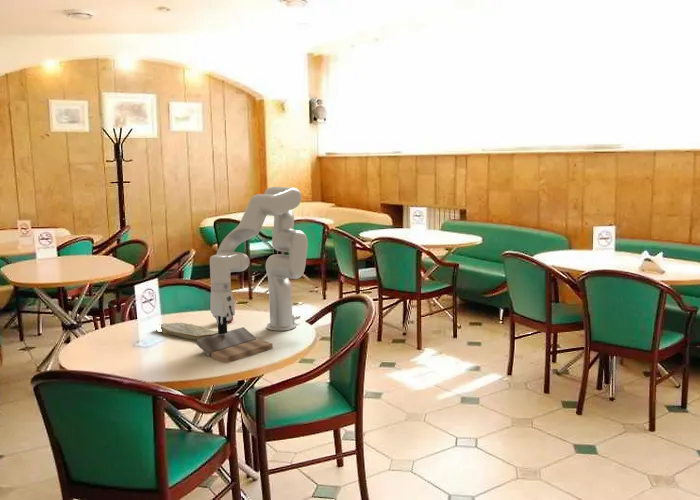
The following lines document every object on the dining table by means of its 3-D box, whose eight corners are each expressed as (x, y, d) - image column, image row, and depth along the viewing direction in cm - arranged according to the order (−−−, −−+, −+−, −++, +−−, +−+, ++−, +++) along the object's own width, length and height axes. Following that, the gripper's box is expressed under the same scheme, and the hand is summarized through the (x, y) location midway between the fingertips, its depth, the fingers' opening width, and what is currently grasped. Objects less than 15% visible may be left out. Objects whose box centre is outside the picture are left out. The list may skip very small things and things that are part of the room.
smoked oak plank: (242, 331, 260) (243, 327, 259) (255, 342, 256) (256, 338, 255) (196, 344, 244) (197, 339, 243) (209, 356, 239) (210, 352, 239)
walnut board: (257, 343, 255) (257, 338, 254) (272, 348, 249) (272, 343, 248) (211, 357, 239) (211, 352, 238) (226, 362, 233) (226, 357, 232)
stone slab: (173, 319, 283) (222, 326, 266) (173, 328, 284) (222, 336, 267) (150, 325, 273) (199, 333, 256) (151, 335, 274) (200, 343, 257)
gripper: (240, 287, 245) (242, 334, 248) (217, 282, 255) (219, 328, 258) (224, 291, 240) (226, 339, 242) (201, 285, 250) (203, 331, 252)
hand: (222, 333), depth 250 cm, fingers closed
